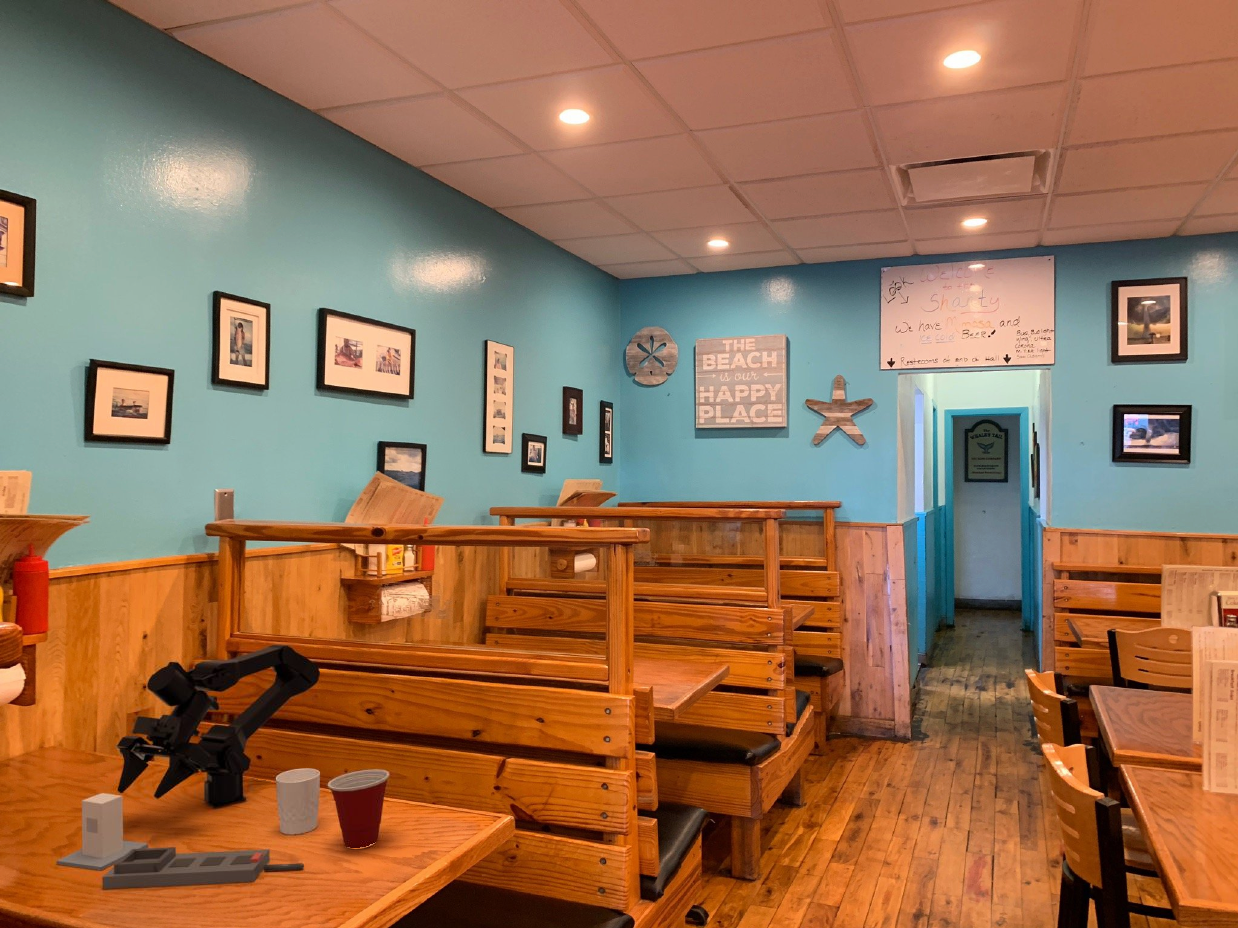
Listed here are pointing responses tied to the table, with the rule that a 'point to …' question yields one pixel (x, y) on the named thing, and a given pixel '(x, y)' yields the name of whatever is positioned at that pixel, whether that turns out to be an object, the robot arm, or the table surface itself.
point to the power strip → (188, 868)
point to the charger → (102, 825)
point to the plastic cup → (359, 805)
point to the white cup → (298, 800)
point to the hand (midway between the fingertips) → (137, 794)
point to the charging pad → (98, 863)
